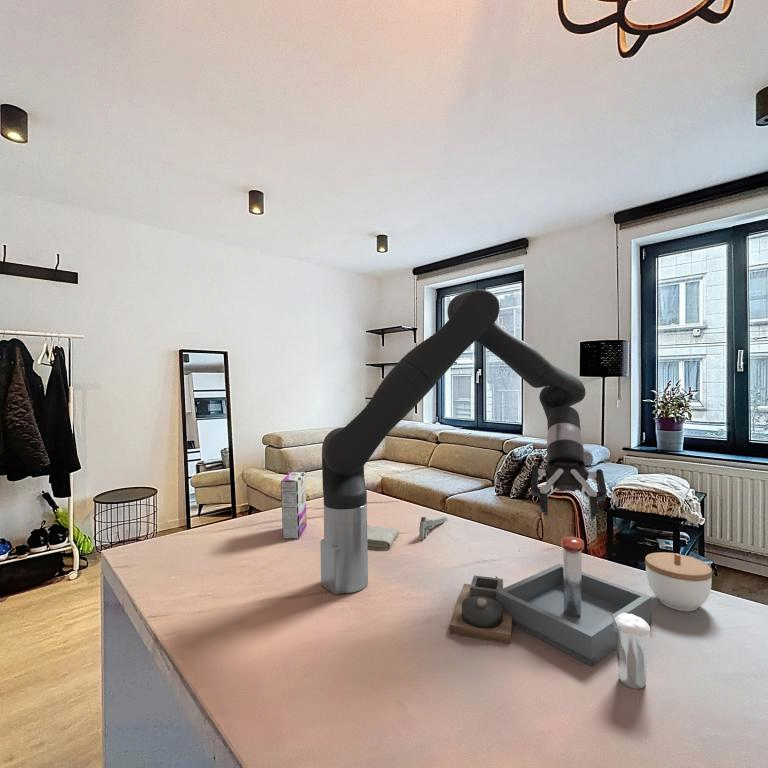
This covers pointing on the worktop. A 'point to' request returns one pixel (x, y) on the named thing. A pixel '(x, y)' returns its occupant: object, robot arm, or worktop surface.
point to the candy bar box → (293, 505)
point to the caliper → (429, 525)
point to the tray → (572, 635)
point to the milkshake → (632, 649)
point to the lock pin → (572, 575)
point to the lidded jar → (678, 580)
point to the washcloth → (381, 536)
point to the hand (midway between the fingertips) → (569, 515)
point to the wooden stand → (481, 612)
